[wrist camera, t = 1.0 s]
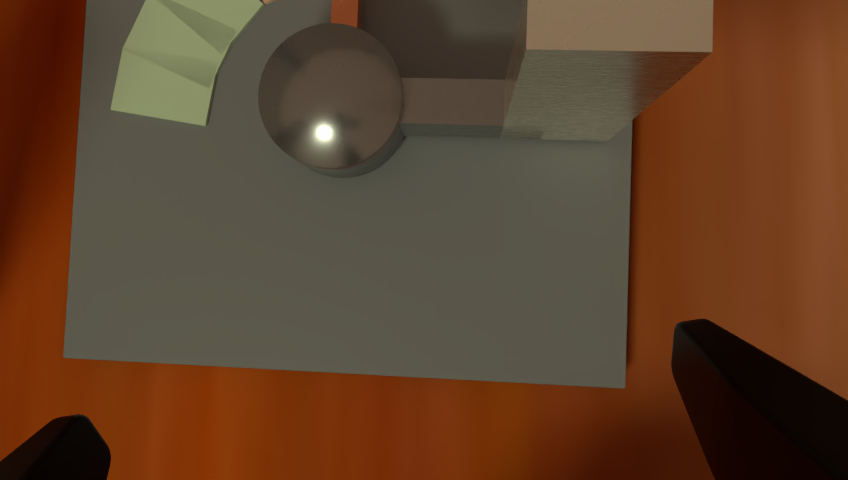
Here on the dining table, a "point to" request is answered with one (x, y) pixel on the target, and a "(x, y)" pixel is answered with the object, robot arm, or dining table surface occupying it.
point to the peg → (478, 81)
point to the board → (333, 212)
